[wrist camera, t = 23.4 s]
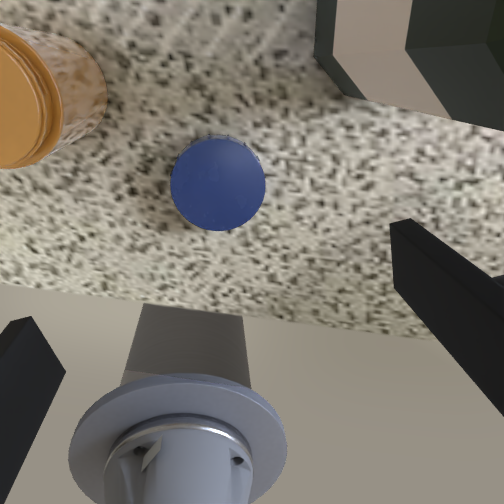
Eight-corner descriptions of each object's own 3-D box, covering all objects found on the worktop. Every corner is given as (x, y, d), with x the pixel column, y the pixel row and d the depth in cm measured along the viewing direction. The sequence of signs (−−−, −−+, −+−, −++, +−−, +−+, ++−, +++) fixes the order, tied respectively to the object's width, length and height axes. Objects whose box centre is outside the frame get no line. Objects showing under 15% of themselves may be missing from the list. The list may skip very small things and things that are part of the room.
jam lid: (265, 135, 26) (269, 140, 24) (260, 223, 28) (262, 231, 27) (170, 132, 25) (167, 136, 23) (174, 222, 28) (171, 231, 26)
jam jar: (101, 149, 25) (46, 192, 17) (3, 123, 24) (-111, 156, 15) (114, 52, 23) (56, 45, 14) (5, 17, 21) (-129, -13, 13)
